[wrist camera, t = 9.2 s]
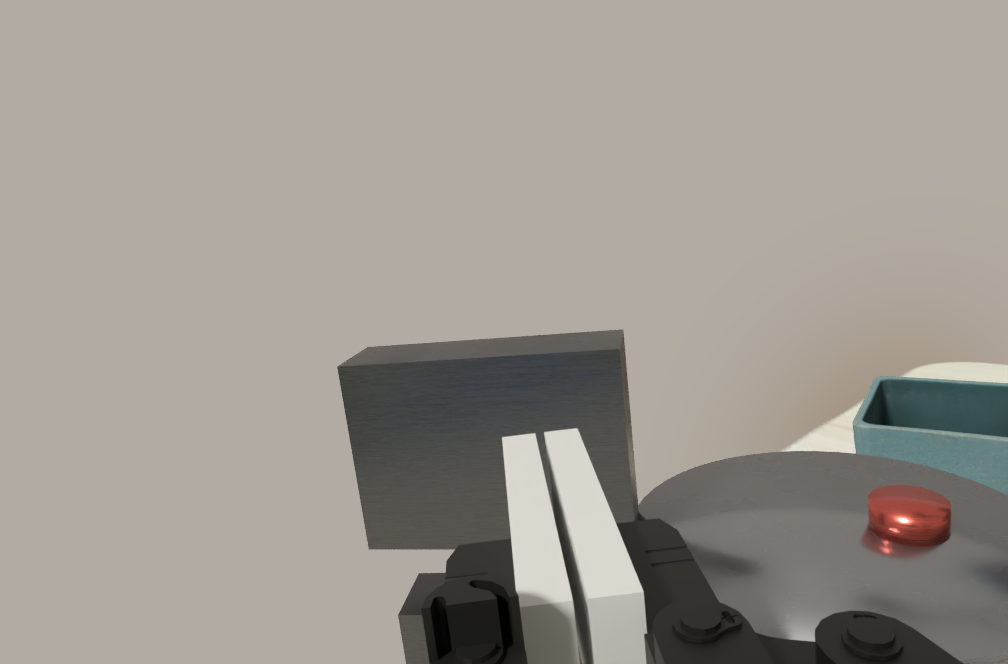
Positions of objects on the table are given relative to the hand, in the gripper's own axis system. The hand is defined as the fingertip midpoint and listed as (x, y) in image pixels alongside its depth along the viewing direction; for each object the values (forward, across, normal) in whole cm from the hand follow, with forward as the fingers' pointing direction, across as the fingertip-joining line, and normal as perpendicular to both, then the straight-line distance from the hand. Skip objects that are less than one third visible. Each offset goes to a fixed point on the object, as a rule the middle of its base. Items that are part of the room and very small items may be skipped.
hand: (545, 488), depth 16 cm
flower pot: (+19, -22, +16) cm, 33 cm away
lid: (+8, -5, +7) cm, 12 cm away
